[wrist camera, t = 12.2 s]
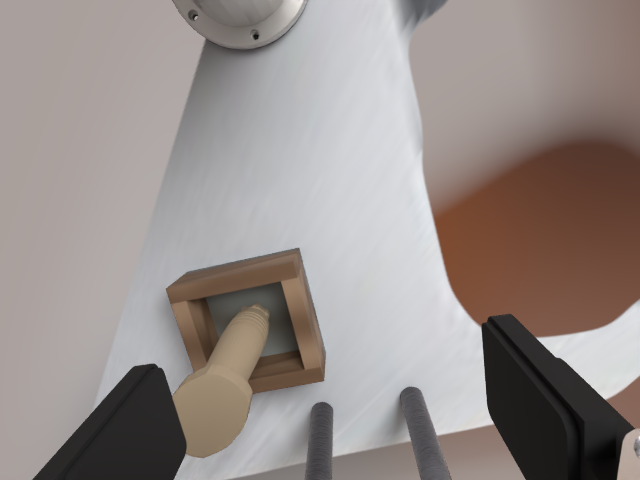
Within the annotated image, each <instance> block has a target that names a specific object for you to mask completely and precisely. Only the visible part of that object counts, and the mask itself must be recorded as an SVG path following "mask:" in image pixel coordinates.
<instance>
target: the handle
mask: <svg viewBox="0 0 640 480" xmlns="http://www.w3.org/2000/svg"><path fill="white" fill-rule="evenodd" d="M269 315H270V312H269V310H268V309H265V308H263V307H262V306H261V305H260V303H254V304H253V305H251V306H244V307H243V308H242V309H241V310H240V311H239V312H238V314H237V315H236V316H235V317H234V318H233V319H232V321H231V322H230V323H229V324H228V326H227V327H226V329H225V330H224V332H223V333H222V335H221V336H220V338H219V340H218V342H217V344H216V346H215V348H214V350H213V352H212V354H211V356H210V358H209V360H208V362H207V364H206V366H205V367H204V368H201V369H200V370H198V371H196V372H194V373H192V374H191V375H189V376H188V377H187V378H186V379H185V380H184V381H183V382H182V384H181V385H180V386H179V388H178V389H177V390H176V392H175V393H174V395H173V396H172V398H173V401H174V404H175V407H176V411H177V414H178V417H179V420H180V423H181V426H182V429H183V432H184V435H185V438H186V442H187V450H186V454H187V455H190V456H193V457H198V458H205V457H207V456H210V455H212V454H215V453H217V452H219V451H221V450H223V449H225V448H226V447H228V446H229V445H230V444H231V443H232V442H233V440H234V439H235V438H236V437H237V436H238V435H239V433H240V432H241V431H242V429H243V427H244V425H245V423H246V420H247V417H248V413H249V410H250V405H251V399H252V393H253V391H252V389H251V387H250V385H249V383H248V380H249V378H250V376H251V374H252V372H253V370H254V368H255V366H256V364H257V362H258V360H259V358H260V356H261V354H262V351H263V349H264V346H265V343H266V339H267V336H268V331H269V321H268V318H269Z"/></svg>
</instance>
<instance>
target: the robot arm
mask: <svg viewBox="0 0 640 480" xmlns="http://www.w3.org/2000/svg"><path fill="white" fill-rule="evenodd" d="M172 1H173V2H174V4H175V6H176V8H177V9H178V11H179V13H180V14H181V15H182V17H183V18H184V19H185V20H186V21H187V23H188V24H189V25H190V26H191V27H192V28H193V29H194V30H196V31H197V32H198V33H199V34H201V35H202V36H204V37H205V38H206V39H208V40H209V41H211V42H213V43H216V44H218V45H220V46H223V47H227V48H232V49H253V48H258V47H262V46H264V45H267V44H269V43H271V42H273V41H275V40H277V39H278V38H279V37H281V36H282V35H283V34H285V33H286V32H287V31H288V30H289V29H290V28H291V27H292V26H293V25H294V23H295V22H296V21H297V19H298V18H299V16H300V15H301V13H302V11H303V10H304V7H305V5H306V2H307V0H172ZM195 16H198V18H197V20H194V18H195ZM255 35H259V38H258V39H257V40H255V39H254V36H255ZM482 340H483V354H484V367H485V381H486V394H487V406H488V410H489V414H490V416H491V419H492V421H493V422H494V424H495V426H496V428H497V429H498V431H499V433H500V435H501V436H502V438H503V440H504V442H505V444H506V445H507V447H508V449H509V451H510V452H511V454H512V456H513V458H514V459H515V461H516V463H517V465H518V467H519V468H520V470H521V472H522V474H523V475H524V477H525V479H526V480H640V429H635V428H634V427H633V426H631V424H630V423H628V422H627V421H626V420H625V419H624V418H623V417H622V416H621V415H620V414H619V413H618V412H617V411H616V410H615V409H614V408H613V407H612V406H611V405H610V404H609V403H608V402H607V401H606V400H605V399H604V398H602V397H601V396H600V395H599V394H598V393H597V392H596V391H595V390H594V389H593V388H592V387H591V386H590V385H589V384H588V383H587V382H586V381H585V380H584V379H583V378H582V377H581V376H580V375H578V374H577V373H576V372H575V371H574V370H573V369H572V368H571V367H570V366H569V365H568V364H567V363H566V362H565V361H563V360H562V359H561V358H556V357H555V356H554V355H553V354H552V353H551V352H550V351H549V350H547V349H546V348H545V347H544V346H543V345H542V344H541V343H540V342H539V341H538V340H537V339H536V338H535V337H534V336H533V335H532V334H531V333H530V332H529V331H528V330H527V329H526V328H525V327H524V326H523V325H522V324H521V323H520V322H519V321H518V320H517V319H516V318H515V317H514V316H513V315H511V314H506V315H498V316H491V317H489V318H488V321H487V322H486V323H483V324H482ZM186 450H187V442H186V438H185V435H184V432H183V429H182V426H181V423H180V420H179V417H178V414H177V411H176V407H175V404H174V401H173V398H172V395H171V392H170V389H169V386H168V383H167V380H166V377H165V373H164V371H163V369H162V368H158V366H157V365H156V364H147V365H139V366H134V367H133V368H131V370H130V371H129V372H128V373H127V374H126V375H125V376H124V377H123V379H122V380H121V381H120V382H119V383H118V384H117V385H116V386H115V388H114V389H113V390H112V391H111V392H110V393H109V394H108V395H107V396H106V398H105V399H104V400H103V401H102V402H101V403H100V404H99V405H98V407H97V408H96V409H95V410H94V411H93V412H92V413H91V414H90V416H89V417H88V418H87V419H86V420H85V421H84V422H83V423H82V425H81V426H80V427H79V428H78V429H77V430H76V431H75V432H74V434H73V435H72V436H71V437H70V438H69V439H68V440H67V441H66V443H65V444H64V445H63V446H62V447H61V448H60V449H59V450H58V452H57V453H56V454H55V455H54V456H53V457H52V458H51V459H50V460H49V462H48V463H47V464H46V465H45V466H44V467H43V468H42V469H41V471H40V472H39V473H38V474H37V475H36V476H35V477H34V478H33V480H174V478H175V475H176V473H177V471H178V469H179V467H180V465H181V463H182V461H183V459H184V456H185V454H186Z"/></svg>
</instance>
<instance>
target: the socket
mask: <svg viewBox="0 0 640 480" xmlns="http://www.w3.org/2000/svg"><path fill="white" fill-rule="evenodd" d="M166 291H167V294H168V297H169V300H170V303H171V306H172V309H173V312H174V315H175V318H176V321H177V323H178V326H179V329H180V332H181V335H182V338H183V341H184V344H185V347H186V350H187V353H188V355H189V358H190V361H191V364H192V367H193V370H194V372H196V371H198V370H200V369H201V368H204V367H205V366H206V364H207V362H208V360H209V358H210V356H211V354H212V352H213V350H214V348H215V346H216V344H217V342H218V340H219V338H220V336H221V335H222V333H223V332H224V330H225V329H226V327H227V326H228V324H229V323H230V322H231V321H232V319H233V318H234V317H235V316H236V315H237V314H238V312H239V311H240V310H241V309H242V308H243V307H244V306H251V305H253V304H254V303H260V305H261V306H262V307H263V308H265V309H268V310H269V312H270V315H269V318H268V321H269V331H268V336H267V339H266V343H265V346H264V349H263V351H262V354H261V356H260V358H259V360H258V362H257V364H256V366H255V368H254V370H253V372H252V374H251V376H250V378H249V380H248V383H249V385H250V387H251V389H252V391H253V393H252V394H254V393H259V392H265V391H271V390H276V389H282V388H288V387H293V386H299V385H304V384H310V383H316V382H321V381H324V375H325V359H326V352H325V348H324V344H323V340H322V336H321V332H320V328H319V324H318V320H317V316H316V312H315V308H314V304H313V300H312V296H311V292H310V289H309V285H308V281H307V277H306V273H305V269H304V265H303V261H302V257H301V253H300V249H299V248H295V249H291V250H286V251H282V252H277V253H272V254H268V255H263V256H258V257H254V258H249V259H245V260H240V261H235V262H231V263H226V264H222V265H217V266H212V267H208V268H203V269H198V270H194V271H189V272H187V273H185V274H184V275H183V276H182V277H180V278H179V279H178V280H177V281H175V282H174V283H173V284H171V285H170V286H169V287H168V288H166Z"/></svg>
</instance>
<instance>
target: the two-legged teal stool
mask: <svg viewBox="0 0 640 480" xmlns="http://www.w3.org/2000/svg"><path fill="white" fill-rule="evenodd" d="M400 398H401V402H402V406H403V410H404V414H405V418H406V422H407V426H408V430H409V434H410V438H411V442H412V446H413V450H414V454H415V458H416V462H417V466H418V470H419V473H420V478H421V480H452V479H451V476H450V473H449V470H448V467H447V465H446V461H445V459H444V456H443V453H442V450H441V447H440V444H439V441H438V438H437V435H436V432H435V430H434V427H433V424H432V421H431V418H430V415H429V412H428V409H427V406H426V403H425V401H424V398H423V395H422V392H421V391H420V390H419V389H418V388H416V387H408V388H405V389H404V390H403V391H402V392H401V395H400ZM332 447H333V408H332V407H331V406H330V405H329V404H328V403H325V402H320V403H317V404H315V405H314V406H313V408H312V415H311V424H310V434H309V443H308V453H307V463H306V472H305V480H332Z"/></svg>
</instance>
